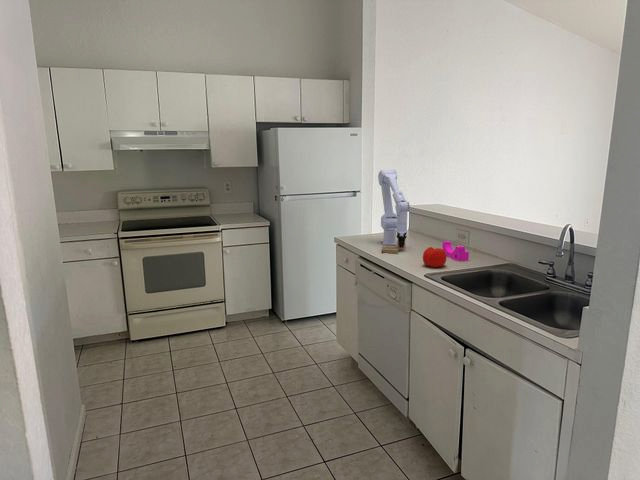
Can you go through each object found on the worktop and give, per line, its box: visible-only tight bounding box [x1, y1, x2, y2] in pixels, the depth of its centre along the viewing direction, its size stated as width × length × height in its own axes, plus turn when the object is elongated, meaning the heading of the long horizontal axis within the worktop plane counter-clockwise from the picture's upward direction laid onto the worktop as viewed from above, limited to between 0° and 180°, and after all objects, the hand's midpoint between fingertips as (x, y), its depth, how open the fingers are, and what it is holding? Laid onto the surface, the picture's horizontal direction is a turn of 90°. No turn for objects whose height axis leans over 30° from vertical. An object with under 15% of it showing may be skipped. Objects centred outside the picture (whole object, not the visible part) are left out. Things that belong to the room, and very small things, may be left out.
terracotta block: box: [396, 239, 406, 251], centre depth 257 cm, size 4×4×5 cm
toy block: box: [441, 240, 470, 262], centre depth 238 cm, size 15×6×8 cm, turn 17°
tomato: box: [422, 246, 448, 269], centre depth 221 cm, size 11×12×9 cm
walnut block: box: [381, 245, 400, 255], centre depth 251 cm, size 9×9×3 cm
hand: (401, 246), depth 257 cm, fingers open, 7 cm apart
